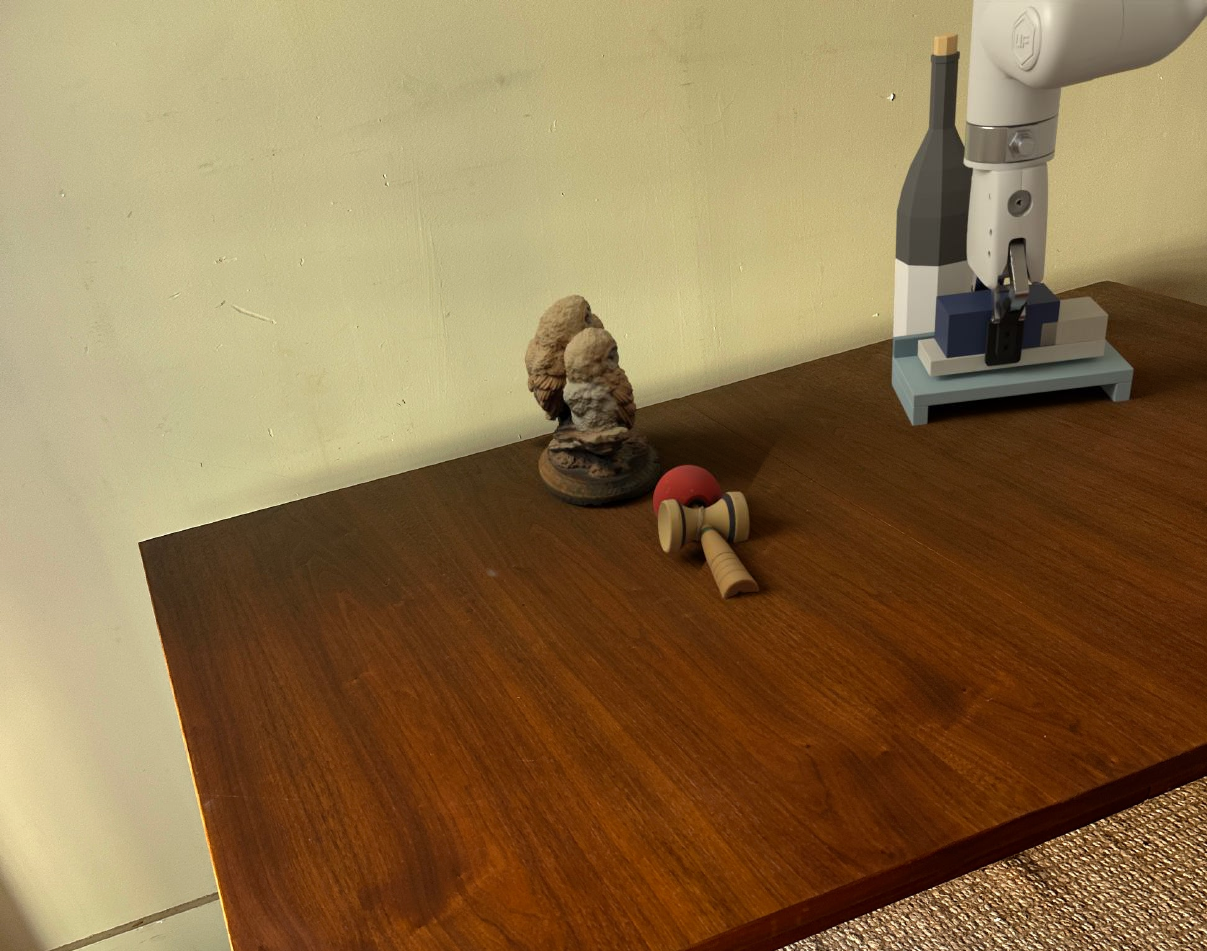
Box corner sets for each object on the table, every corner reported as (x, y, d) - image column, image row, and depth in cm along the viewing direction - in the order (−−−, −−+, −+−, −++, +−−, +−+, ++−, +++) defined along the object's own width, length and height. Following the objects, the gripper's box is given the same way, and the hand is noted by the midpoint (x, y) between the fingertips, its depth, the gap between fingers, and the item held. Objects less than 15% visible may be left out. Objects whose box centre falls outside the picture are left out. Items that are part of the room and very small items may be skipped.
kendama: (797, 610, 95) (726, 494, 108) (785, 549, 91) (712, 434, 103) (707, 646, 96) (646, 525, 108) (690, 586, 91) (628, 467, 103)
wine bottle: (934, 378, 125) (950, 44, 107) (876, 362, 131) (883, 42, 112) (985, 354, 129) (1010, 27, 110) (927, 340, 134) (942, 25, 115)
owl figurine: (685, 496, 111) (668, 307, 100) (563, 524, 110) (533, 336, 99) (634, 429, 125) (614, 257, 114) (525, 453, 124) (495, 281, 113)
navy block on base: (1084, 334, 116) (1091, 275, 113) (1103, 355, 111) (1112, 294, 108) (917, 355, 117) (919, 297, 114) (929, 376, 113) (932, 317, 109)
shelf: (1090, 374, 121) (1099, 310, 117) (1126, 416, 113) (1137, 348, 109) (891, 398, 123) (892, 336, 119) (911, 441, 114) (914, 375, 110)
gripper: (1085, 156, 96) (1059, 378, 107) (1027, 115, 109) (1010, 317, 121) (990, 169, 97) (974, 388, 108) (944, 127, 110) (934, 326, 121)
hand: (993, 349), depth 114 cm, fingers closed on navy block on base, 6 cm apart
